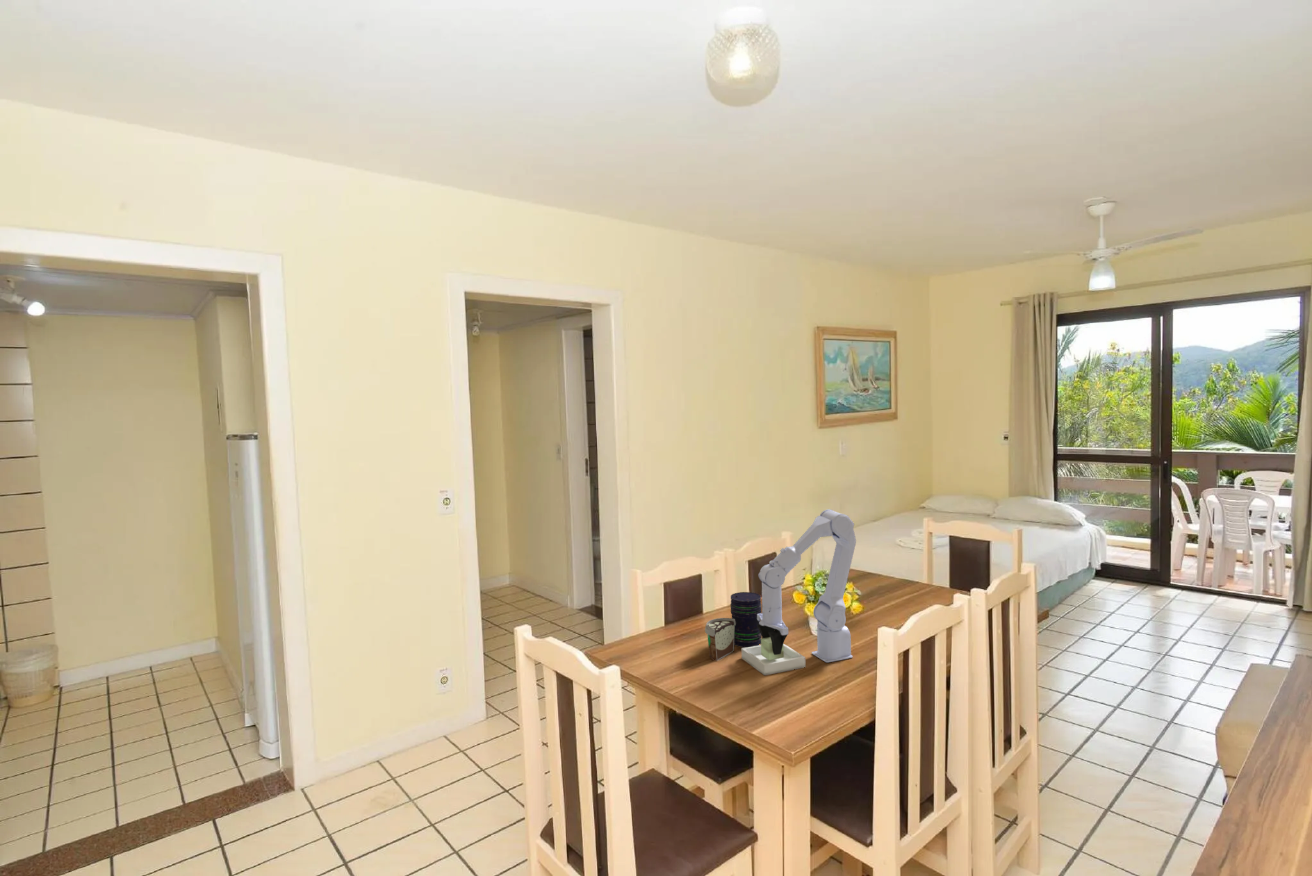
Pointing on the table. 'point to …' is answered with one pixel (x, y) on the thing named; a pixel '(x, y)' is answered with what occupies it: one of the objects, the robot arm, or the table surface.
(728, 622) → the food container
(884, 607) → the table surface
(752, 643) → the storage jar
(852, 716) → the table surface
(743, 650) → the grey tray
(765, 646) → the green block
